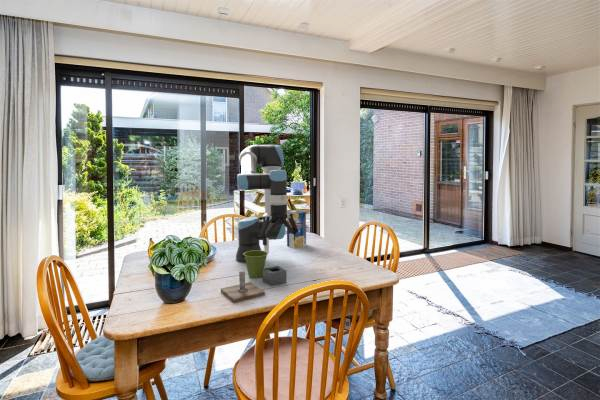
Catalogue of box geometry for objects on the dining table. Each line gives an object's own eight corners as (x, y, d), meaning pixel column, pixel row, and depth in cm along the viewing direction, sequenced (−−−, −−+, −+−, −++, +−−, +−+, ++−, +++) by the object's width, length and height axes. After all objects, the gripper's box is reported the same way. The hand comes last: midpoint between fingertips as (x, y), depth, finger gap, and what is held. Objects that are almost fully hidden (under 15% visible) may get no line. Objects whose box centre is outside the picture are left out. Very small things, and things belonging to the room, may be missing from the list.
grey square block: (263, 281, 167) (262, 268, 167) (277, 278, 172) (277, 265, 171) (271, 286, 161) (271, 273, 160) (286, 282, 165) (286, 270, 164)
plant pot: (264, 280, 169) (264, 257, 167) (240, 279, 171) (239, 256, 169) (270, 272, 180) (270, 250, 179) (248, 271, 182) (247, 249, 181)
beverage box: (290, 243, 237) (290, 210, 234) (306, 244, 234) (306, 211, 231) (286, 246, 231) (286, 212, 228) (303, 247, 227) (303, 213, 225)
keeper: (220, 291, 155) (220, 270, 154) (250, 285, 163) (249, 264, 161) (234, 302, 143) (233, 280, 142) (265, 295, 151) (264, 273, 150)
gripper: (258, 207, 152) (259, 256, 155) (305, 202, 167) (305, 247, 169) (250, 205, 158) (251, 252, 161) (296, 201, 173) (296, 244, 175)
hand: (279, 249), depth 165 cm, fingers open, 13 cm apart
